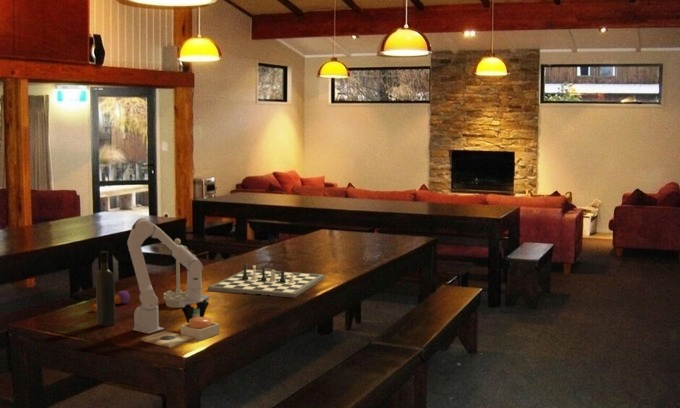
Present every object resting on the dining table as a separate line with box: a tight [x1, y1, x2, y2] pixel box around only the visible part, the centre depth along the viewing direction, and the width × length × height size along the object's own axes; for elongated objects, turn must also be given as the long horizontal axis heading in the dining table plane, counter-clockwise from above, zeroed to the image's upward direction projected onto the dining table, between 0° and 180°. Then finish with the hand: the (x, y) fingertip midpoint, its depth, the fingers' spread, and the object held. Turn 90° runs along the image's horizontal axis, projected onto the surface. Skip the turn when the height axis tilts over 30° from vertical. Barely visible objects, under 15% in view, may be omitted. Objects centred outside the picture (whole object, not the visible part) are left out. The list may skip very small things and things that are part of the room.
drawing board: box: [140, 330, 195, 349], centre depth 278 cm, size 16×12×1 cm
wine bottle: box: [95, 250, 116, 328], centre depth 297 cm, size 6×6×30 cm
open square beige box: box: [180, 321, 221, 341], centre depth 285 cm, size 10×10×4 cm
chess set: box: [207, 261, 325, 298], centre depth 373 cm, size 45×45×11 cm
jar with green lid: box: [192, 307, 200, 318], centre depth 298 cm, size 4×4×7 cm
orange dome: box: [189, 316, 212, 329], centre depth 285 cm, size 8×8×4 cm
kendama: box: [90, 290, 131, 313], centre depth 327 cm, size 6×6×20 cm
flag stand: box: [163, 238, 187, 309], centre depth 330 cm, size 13×13×30 cm
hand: (195, 321), depth 298 cm, fingers open, 6 cm apart
